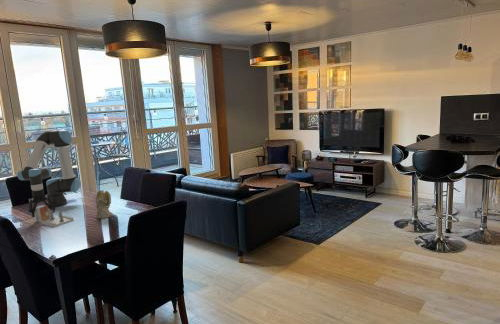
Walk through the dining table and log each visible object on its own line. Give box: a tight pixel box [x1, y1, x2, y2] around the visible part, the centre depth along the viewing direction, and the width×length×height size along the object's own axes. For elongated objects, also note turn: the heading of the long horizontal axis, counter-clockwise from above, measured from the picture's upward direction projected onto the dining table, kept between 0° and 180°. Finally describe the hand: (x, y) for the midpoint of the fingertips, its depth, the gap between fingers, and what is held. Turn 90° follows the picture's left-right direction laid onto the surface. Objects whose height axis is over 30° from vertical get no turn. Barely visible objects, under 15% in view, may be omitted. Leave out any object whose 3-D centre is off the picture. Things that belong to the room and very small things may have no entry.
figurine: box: [95, 190, 113, 220], centre depth 252 cm, size 12×12×20 cm
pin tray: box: [39, 209, 74, 228], centre depth 247 cm, size 14×18×8 cm
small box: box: [35, 204, 51, 223], centre depth 254 cm, size 8×6×10 cm
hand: (42, 218), depth 254 cm, fingers closed on small box, 9 cm apart
